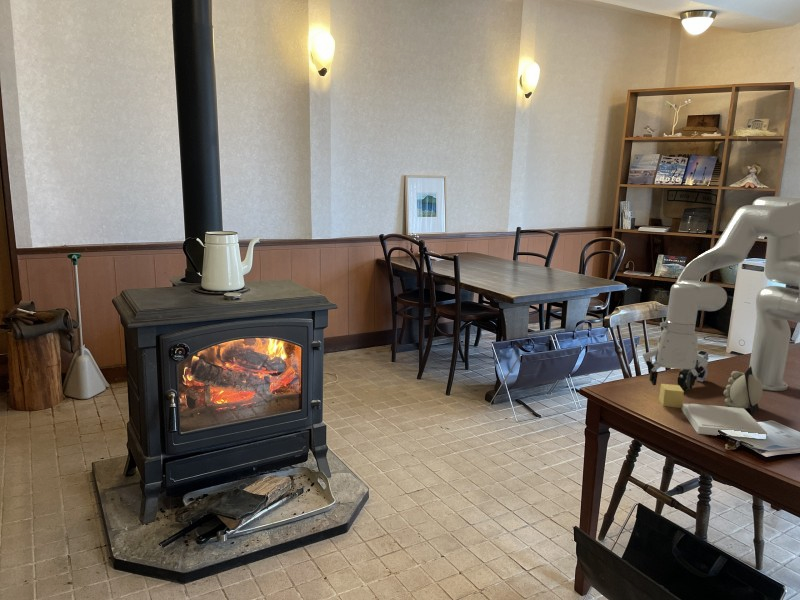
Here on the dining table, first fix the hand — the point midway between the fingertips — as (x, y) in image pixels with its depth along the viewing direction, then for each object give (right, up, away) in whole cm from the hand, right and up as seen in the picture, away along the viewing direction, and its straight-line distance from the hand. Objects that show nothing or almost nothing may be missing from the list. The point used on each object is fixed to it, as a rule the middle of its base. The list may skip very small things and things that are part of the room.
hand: (671, 385), depth 171 cm
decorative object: (+19, -7, -1) cm, 20 cm away
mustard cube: (0, -5, +1) cm, 6 cm away
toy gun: (+14, -3, +16) cm, 21 cm away
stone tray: (+8, -9, -12) cm, 17 cm away
